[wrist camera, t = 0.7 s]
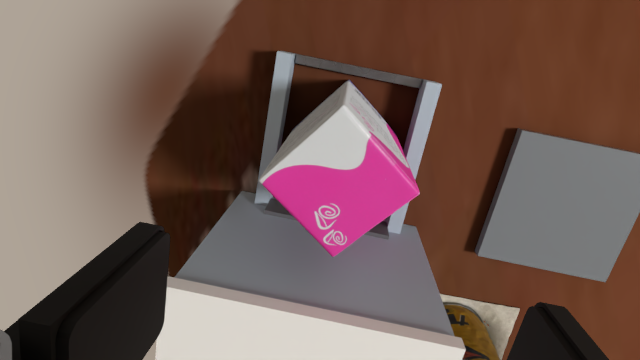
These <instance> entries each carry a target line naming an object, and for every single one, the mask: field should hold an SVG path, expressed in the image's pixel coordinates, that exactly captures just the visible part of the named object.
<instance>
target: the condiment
mask: <svg viewBox="0 0 640 360" xmlns="http://www.w3.org/2000/svg"><path fill="white" fill-rule="evenodd" d="M440 296H441V299H442V302H443V305H444V307H445V310H446V313H447V316H448V319H449V322H450V324H451V327H452V330H453V333H454V336H455V337H460V338H462V340H463V343H464V346H465V348H466V351H465V354H464V356H463V359H462V360H502V357H503V353H504V350H505V348H506V345H507V342H508V337H509V336H510V334H511V332H512V329H513V326H514V323H515V320H516V318H517V316H518V313H519V310H520V308H514V307H507V306H503V305H495V304H491V303H484V302H480V301H474V300H470V299H465V298H460V297H453V296H448V295H443V294H440ZM483 321H486V323H484V322H483ZM486 324H489V327H488V326H487V325H486Z"/></svg>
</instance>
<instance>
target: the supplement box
mask: <svg viewBox="0 0 640 360" xmlns="http://www.w3.org/2000/svg"><path fill="white" fill-rule="evenodd" d="M259 182H260V183H261V184H262V185H263V186H264V187H265V188H266V189H267V190H268V191H269V192H270V193H271V194H272V195H273V196H274V197H275V198H276V199H277V200H278V201H279V202H280V203H281V204H282V206H283V207H284V208H285V209H286V210H287V211H288V212H289V213H290V214H291V215H292V216H293V217H294V218H295V219H296V220H297V221H298V222H299V223H300V224H301V225H302V226H303V227H304V228H305V229H306V230H307V231H308V232H309V233H310V234H311V235H312V236H313V237H314V238H315V239H316V240H317V241H318V242H319V243H320V244H321V246H322V247H323V248H324V249H325V250H326V251H327V252H328V253H329V254H330V255H331V256H332V257H334V256H336V255H337V254H339V253H340V252H341V251H343V250H344V249H345V248H347V247H348V246H349V245H351V244H352V243H353V242H355V241H356V240H357V239H358V238H360V237H361V236H362V235H363V234H365V233H366V232H368V231H369V230H370V229H372V228H373V227H375V226H376V225H377V224H379V223H380V222H382V221H383V220H384V219H386V218H387V217H389V216H390V215H391V214H393V213H394V212H395V211H397V210H398V209H400V208H401V207H402V206H404V205H405V204H407V203H408V202H409V201H411V200H412V199H413V198H415V197H416V196H418V195H419V194H420V192H419V189H418V186H417V184H416V181H415V179H414V176H413V174H412V172H411V169H410V167H409V164H408V162H407V160H406V157H405V155H404V152H403V150H402V147H401V145H400V143H399V140H398V137H397V135H396V134H395V132H394V131H393V130H392V129H391V127H390V126H389V125H388V124H387V122H386V121H385V120H384V119H383V118H382V116H381V115H380V114H379V113H378V112H377V111H376V109H375V108H374V107H373V106H372V105H371V104H370V102H369V101H368V100H367V99H366V98H365V97H364V95H363V94H362V93H361V92H360V91H359V90H358V89H357V88H356V86H355V85H354V84H353V83H352V82H351V81H350V80H348V81H346V82H345V83H344V84H343V85H342V86H340V87H339V88H338V89H337V90H336V91H335V92H334V93H332V94H331V95H330V96H329V97H328V98H327V99H326V100H324V101H323V102H322V103H321V104H320V105H319V106H318V107H317V108H316V109H314V110H313V111H312V112H311V113H310V114H309V115H308V116H307V117H305V118H304V119H303V120H302V121H301V122H300V123H299V124H298V125H296V126H295V127H294V128H293V129H292V131H291V133H290V134H289V136H288V137H287V139H286V140H285V142H284V143H283V145H282V146H281V147H280V149H279V151H278V152H277V153H276V155H275V156H274V158H273V159H272V161H271V162H270V164H269V165H268V166H267V168H266V169H265V171H264V172H263V174H262V175H261V177H260V178H259Z"/></svg>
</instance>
